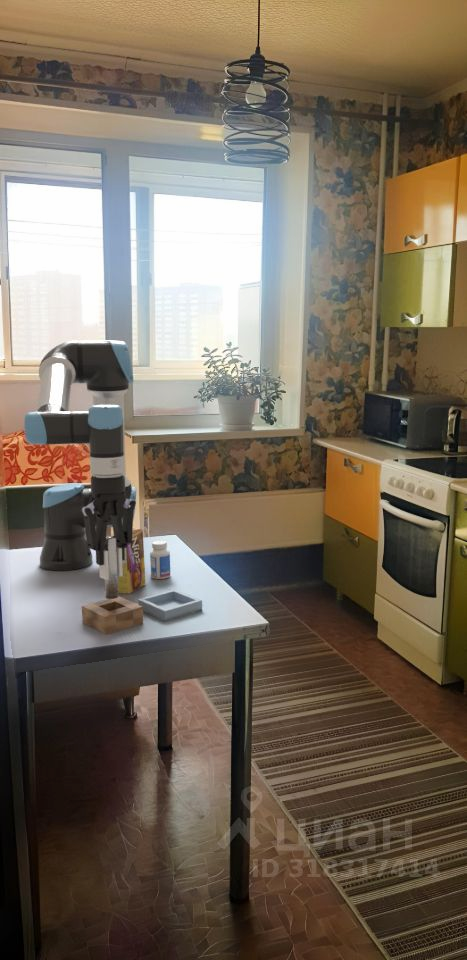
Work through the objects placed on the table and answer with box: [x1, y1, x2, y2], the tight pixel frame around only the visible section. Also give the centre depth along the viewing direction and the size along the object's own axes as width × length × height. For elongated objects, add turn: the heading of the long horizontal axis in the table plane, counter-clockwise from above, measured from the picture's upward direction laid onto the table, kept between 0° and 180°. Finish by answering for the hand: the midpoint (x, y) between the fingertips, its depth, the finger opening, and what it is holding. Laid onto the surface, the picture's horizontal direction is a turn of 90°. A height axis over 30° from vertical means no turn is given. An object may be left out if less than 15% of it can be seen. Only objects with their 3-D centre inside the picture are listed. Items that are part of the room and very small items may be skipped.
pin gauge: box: [104, 535, 120, 599], centre depth 167 cm, size 3×3×14 cm
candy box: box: [118, 528, 146, 595], centre depth 193 cm, size 9×4×15 cm, turn 157°
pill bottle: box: [149, 540, 171, 580], centre depth 203 cm, size 6×5×10 cm
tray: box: [137, 589, 203, 622], centre depth 178 cm, size 11×11×2 cm
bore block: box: [81, 595, 144, 635], centre depth 169 cm, size 10×10×4 cm
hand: (111, 576), depth 168 cm, fingers closed on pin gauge, 3 cm apart
